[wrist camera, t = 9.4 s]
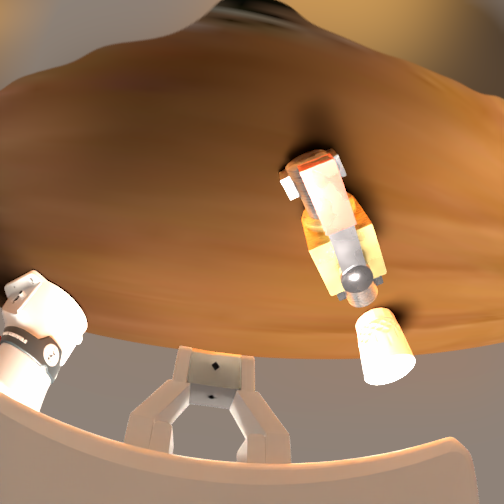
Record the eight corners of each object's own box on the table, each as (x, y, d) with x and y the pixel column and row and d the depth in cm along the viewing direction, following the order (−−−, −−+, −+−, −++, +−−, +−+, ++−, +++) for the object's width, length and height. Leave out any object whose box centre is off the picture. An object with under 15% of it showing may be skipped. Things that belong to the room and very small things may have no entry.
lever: (371, 276, 28) (375, 286, 26) (343, 286, 28) (346, 297, 27) (331, 152, 21) (336, 157, 20) (294, 167, 22) (297, 173, 21)
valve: (378, 271, 38) (397, 312, 31) (335, 289, 40) (346, 332, 33) (329, 139, 28) (350, 160, 22) (273, 165, 30) (276, 193, 24)
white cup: (403, 317, 43) (422, 364, 34) (367, 342, 46) (380, 389, 38) (381, 296, 40) (402, 347, 32) (342, 324, 43) (354, 376, 35)
